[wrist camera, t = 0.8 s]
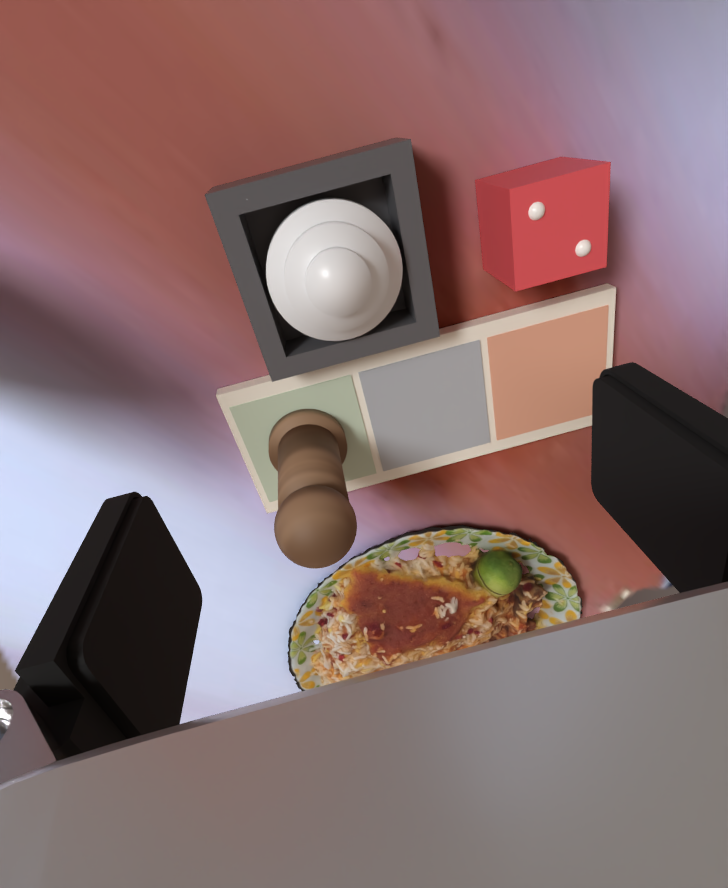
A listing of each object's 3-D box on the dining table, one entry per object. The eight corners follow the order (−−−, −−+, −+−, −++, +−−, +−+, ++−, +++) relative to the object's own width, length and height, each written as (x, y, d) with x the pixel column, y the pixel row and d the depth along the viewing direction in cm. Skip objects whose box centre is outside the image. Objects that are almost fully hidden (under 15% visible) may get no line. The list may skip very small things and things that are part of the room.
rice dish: (225, 615, 46) (218, 670, 41) (501, 461, 40) (528, 506, 35) (387, 733, 60) (395, 784, 55) (608, 633, 54) (637, 681, 49)
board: (217, 388, 33) (215, 396, 32) (607, 283, 33) (616, 288, 32) (267, 505, 38) (267, 514, 37) (602, 414, 38) (610, 421, 37)
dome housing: (212, 187, 27) (204, 194, 24) (396, 137, 27) (410, 139, 24) (272, 358, 32) (272, 381, 29) (425, 317, 32) (440, 336, 29)
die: (475, 180, 28) (511, 190, 24) (561, 156, 29) (614, 162, 24) (483, 269, 31) (517, 293, 27) (562, 248, 31) (609, 268, 27)
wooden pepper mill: (257, 420, 33) (250, 531, 24) (335, 399, 33) (357, 502, 24) (282, 482, 36) (284, 602, 27) (353, 462, 36) (379, 576, 27)
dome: (247, 217, 25) (243, 227, 23) (383, 181, 25) (395, 186, 23) (289, 347, 29) (290, 367, 27) (408, 315, 29) (420, 332, 27)
